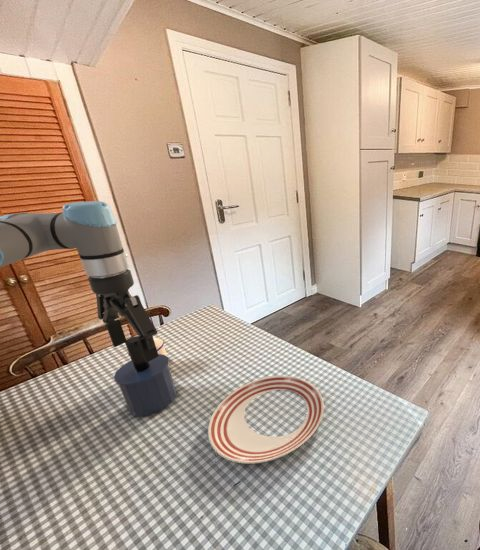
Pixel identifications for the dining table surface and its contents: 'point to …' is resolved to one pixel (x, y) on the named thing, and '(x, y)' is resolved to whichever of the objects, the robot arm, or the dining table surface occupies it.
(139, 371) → the pot lid
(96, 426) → the dining table surface
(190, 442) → the dining table surface
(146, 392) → the dark grey canister
